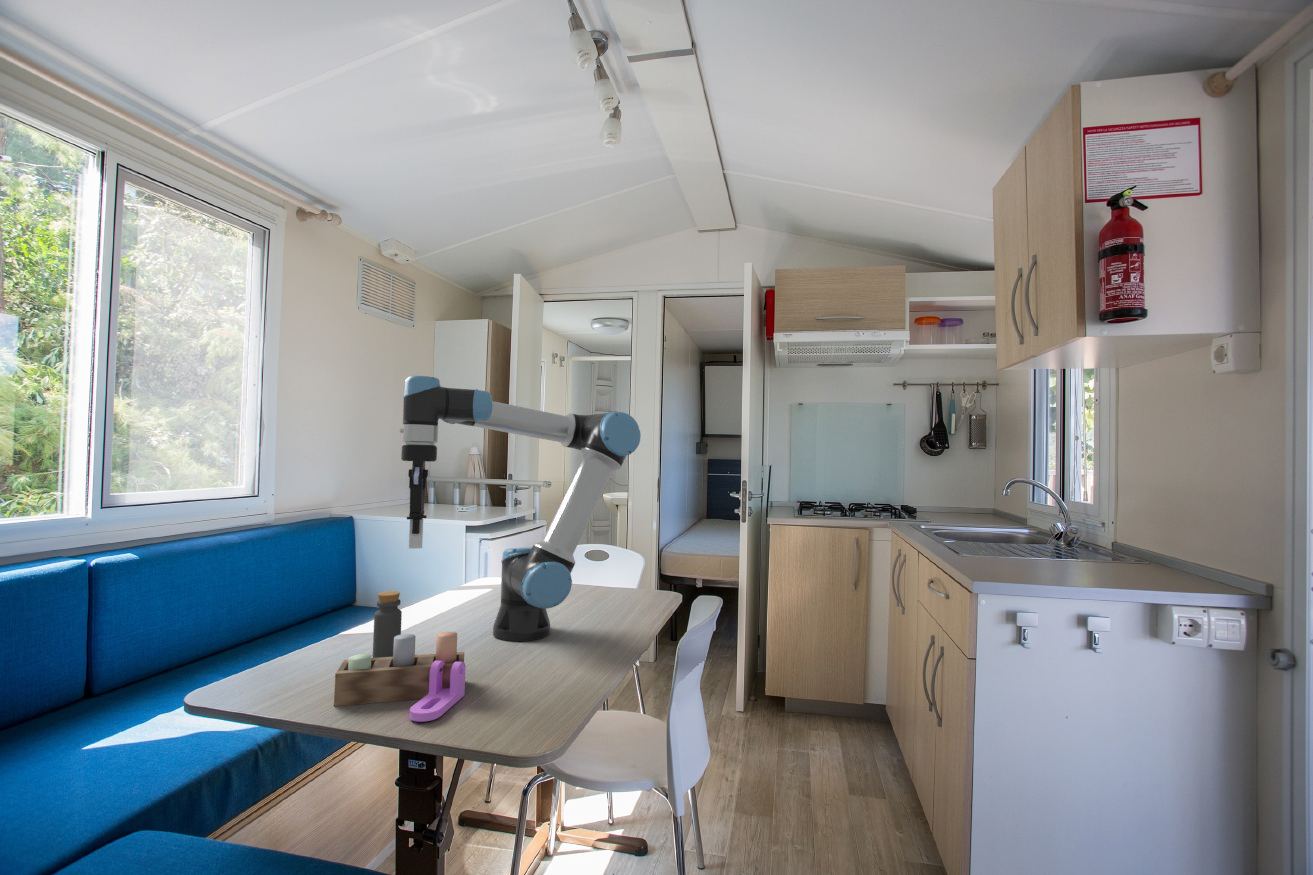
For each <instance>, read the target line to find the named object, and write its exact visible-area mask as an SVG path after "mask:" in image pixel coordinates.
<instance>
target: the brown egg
mask: <svg viewBox="0 0 1313 875" xmlns="http://www.w3.org/2000/svg"><path fill="white" fill-rule="evenodd" d="M435 642H436V643H435V645H436V646H435V654H436V661H444V663H454V662H456V657H457V651H458V633H457V632H455V631H442V632H438V633H437V634H436V641H435Z"/></svg>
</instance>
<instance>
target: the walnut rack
mask: <svg viewBox="0 0 1313 875" xmlns="http://www.w3.org/2000/svg"><path fill="white" fill-rule="evenodd" d="M434 661H436V653H428V654H425V653H424V654H415V663H414V666H401V667H393V657H380V658H373V657H371V669H359V670H348V663H349V659H343V661H342V662H341V664H340V666H339V667H338V669H337V670H336V672H335V675H334V676H335V677H334V678H335V679H334V695H333V697H334V698H333V707H339V706H351V705H353V706H354V705H364V704H365V705H366V704H374V703H376V704H377V703H387V702H388V703H389V702H396V701H397V702H398V701H410V700H421V699H422V698H424V697H425V696H426V695H427V694H428V693H429V677H430V668H431V665H432V663H433V662H434ZM456 661H457V662H464V663H465V651H458V652H457V657H456ZM453 664H454V663H445V665H443V669H442V668H440V671H439V672H441V671H442V670H443V674H442V689H446V688H450V673H451V668H452V665H453Z"/></svg>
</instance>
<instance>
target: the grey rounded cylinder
mask: <svg viewBox="0 0 1313 875" xmlns="http://www.w3.org/2000/svg"><path fill="white" fill-rule="evenodd" d="M416 636H417V635H415V634H413V633H401V635H397V636H395V637H394V649H393V667H401V666H414V663H415V655H416Z"/></svg>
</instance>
